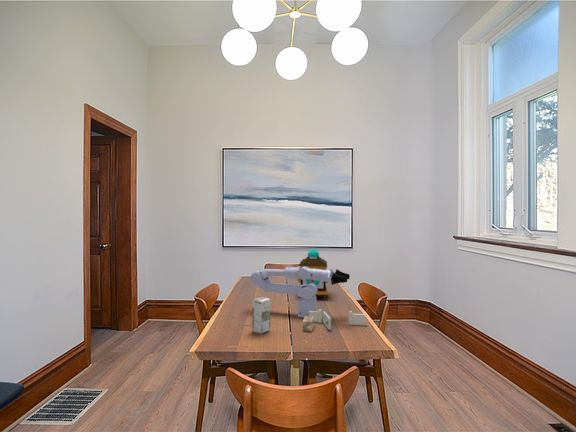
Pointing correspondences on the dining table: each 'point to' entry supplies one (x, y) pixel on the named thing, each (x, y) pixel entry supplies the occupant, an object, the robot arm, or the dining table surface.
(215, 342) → the dining table surface
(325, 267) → the decorative lantern
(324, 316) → the door
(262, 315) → the syrup box
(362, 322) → the wall frame
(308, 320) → the birch block
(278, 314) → the dining table surface
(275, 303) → the dining table surface
